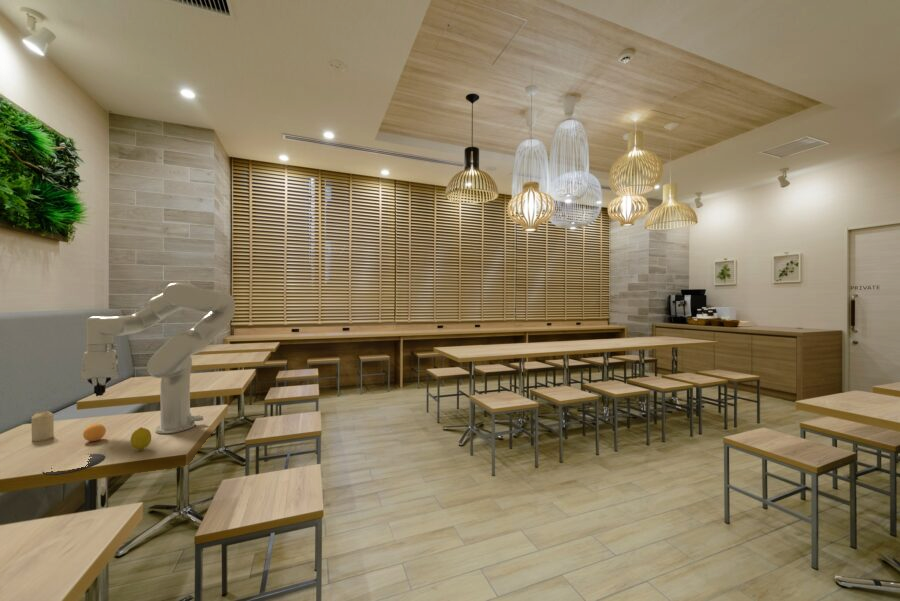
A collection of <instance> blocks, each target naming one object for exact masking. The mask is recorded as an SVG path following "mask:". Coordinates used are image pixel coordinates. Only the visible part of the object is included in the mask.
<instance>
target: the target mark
mask: <svg viewBox="0 0 900 601" xmlns="http://www.w3.org/2000/svg"><path fill="white" fill-rule="evenodd" d="M89 454H90V456H89V457H92V458H90V459H88V460H89V461H87V462H88V464H87V465H88V466H87V465H86V466H87V467H86V466H85V467H81V468H77V469H72V470H68V471H57V472H53V471H51V472H46V473H45V474H44V475H48V476H49V475H51V476H52V475H53V476H54V475H64V474H69V473H74V472H77V471H81V470H82V471H83V470H85V469H88V468H91V467H94V466H95V465H98V464H99V463H102V462H103V461H104V460H105V459H106V455H104V454H101V453H89ZM89 454H88V455H89ZM101 461H102V462H101ZM89 462H90V463H89ZM51 469H52V468H51Z"/></svg>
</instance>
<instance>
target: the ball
mask: <svg viewBox="0 0 900 601" xmlns="http://www.w3.org/2000/svg"><path fill="white" fill-rule="evenodd" d="M106 431H107V429H106V427H105V426H104V425H103V424H99V423H95V424H91V425H89V426H87V427H86V428H85V429H84V431H83V434H82V435H83V438H84V439H85V441H87V442H97V441H99V440H101V439H102V438H103V437H104V436H105V434H106Z"/></svg>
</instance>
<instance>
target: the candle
mask: <svg viewBox="0 0 900 601" xmlns="http://www.w3.org/2000/svg"><path fill="white" fill-rule="evenodd" d="M30 420H31V441H32V442H40V441H41V442H42V441H46V439H47V440H50V439H52V438H54V435H55V432H54V431H55V429H54V422H55V421H54V413H52V412H51V411H47V410H44V411H41V412H38V411H37V412H36V413H35V414H34V415H33V416H31V419H30ZM51 437H52V438H51ZM49 438H50V439H49Z"/></svg>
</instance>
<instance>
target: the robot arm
mask: <svg viewBox="0 0 900 601" xmlns="http://www.w3.org/2000/svg"><path fill="white" fill-rule="evenodd" d="M184 308H186V309H191V310H194V311H199V312H206V313H207V312H208V313H207V314H206V315H205V316H203V317H202V318H201V319H200V320H199V321H198V322H197V323H196V324H195V325H194V326H193V327H192V328H190V329H189V330H185V331H181V332H178V333H176V334H174V335H173V336H171V337H170V338H169V339H168V340H166V342H164V344H163V345H162V346H161V347H159V349H157V351H156V352H154V354H152V355H151V357H150V358H149V359H148V362H147V364H146V370H147V373H148V375H150V376H151V377H153V378H155V379H160V391H159V392H160V425H158V426H157V427H156V428H155V432H156V433H158V434H174V433H175V434H176V433H179V432H184V431H187V430H189V429H191V428H193V427H195V424H196V422H201V421H204V415H200V414H199V415H192V413H191V385H190V384H191V372H192V365H193V360H192V356H193V355H195V354H196V355H197V354H198V353H201V352H203V351H204V350H205V349H206V348H207V347H208V345H210V343H211V342H213V340H214V339H216V338H217V336H218V335H219V334H220V333H221V332H222V331H223V330H224V329H225V328H226V327H227V326H228V325H229V323H230V322H231V321H232V319H233V318H234V316H235V314H236V303H235V300H234V298H233V297H232V295H231V294H230V293H228V292H226V291H224V290H220V289H219V290H218V289H217V290H216V289H205V288H201V287H197V286H196V285H195V284H192V283H190V282H173V283H169V284H168V285H167V286H166V287H165V288H164V289H163V291H162V293H159V294H158V295H156V296H153V297H152V298H150V299H149V301H148V306H147V307H144V308H143V309H142V310H139V311H137V312H136V313H133V314H127V315H118V316H107V315H100V316H99V315H98V316H97V315H96V316H90V317H88V318H87V319H86V351H84V353H83V356H82V361H81V362H82V363H81V368H80V370H81V371H80V376H81V377H80V382H86V383H87V382H88V383H89V384H91V385H92V386H93V394H95V397H98V396H99V397H101V396H102V397H103V395H104V394H105V393H106V384H107V383H109V382H110V381H112V380H113V381H114V380H116V379H119V374H118V373H119V360H118V358H119V357H118V354H117V353H118V352H117V350H115V349H118V348H119V344H115V343H114V337H115V336H117V337H118V336H119V337H120V336H126V335H132V334H137V333H140V332H142V331H145V330H147V329H148V328H151V327H152V326H154V325H156V324H158V323H159V322H161V321H162V320H164V319H165V318H167V317H168V316H170V315H171V314H173V313H175V312H178V311H180V310H182V309H184ZM99 378H101V382H100V381H99Z"/></svg>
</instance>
